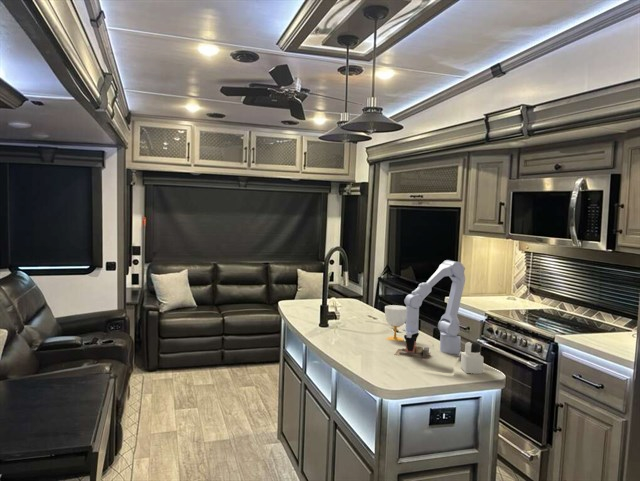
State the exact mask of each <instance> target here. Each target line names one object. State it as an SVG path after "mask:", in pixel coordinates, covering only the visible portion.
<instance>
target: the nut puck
mask: <svg viewBox="0 0 640 481" xmlns="http://www.w3.org/2000/svg"><path fill="white" fill-rule="evenodd" d="M423 349H424V347H423V346H416V347H415V354H422V355H423Z"/></svg>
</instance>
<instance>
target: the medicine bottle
mask: <svg viewBox="0 0 640 481" xmlns="http://www.w3.org/2000/svg"><path fill="white" fill-rule="evenodd" d="M460 358H461V359H460V369H461V370H462V371H463V372H464V373H465V374H467V373H471V374H472V373H473V374H474V375H475V374H476V375H478V374H479V375H483V374H484V356H483V355H481V344H480V343H478V342H475V341H467V342H465V344H464V351H462V352H460ZM471 374H470V375H471ZM473 374H472V375H473Z"/></svg>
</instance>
